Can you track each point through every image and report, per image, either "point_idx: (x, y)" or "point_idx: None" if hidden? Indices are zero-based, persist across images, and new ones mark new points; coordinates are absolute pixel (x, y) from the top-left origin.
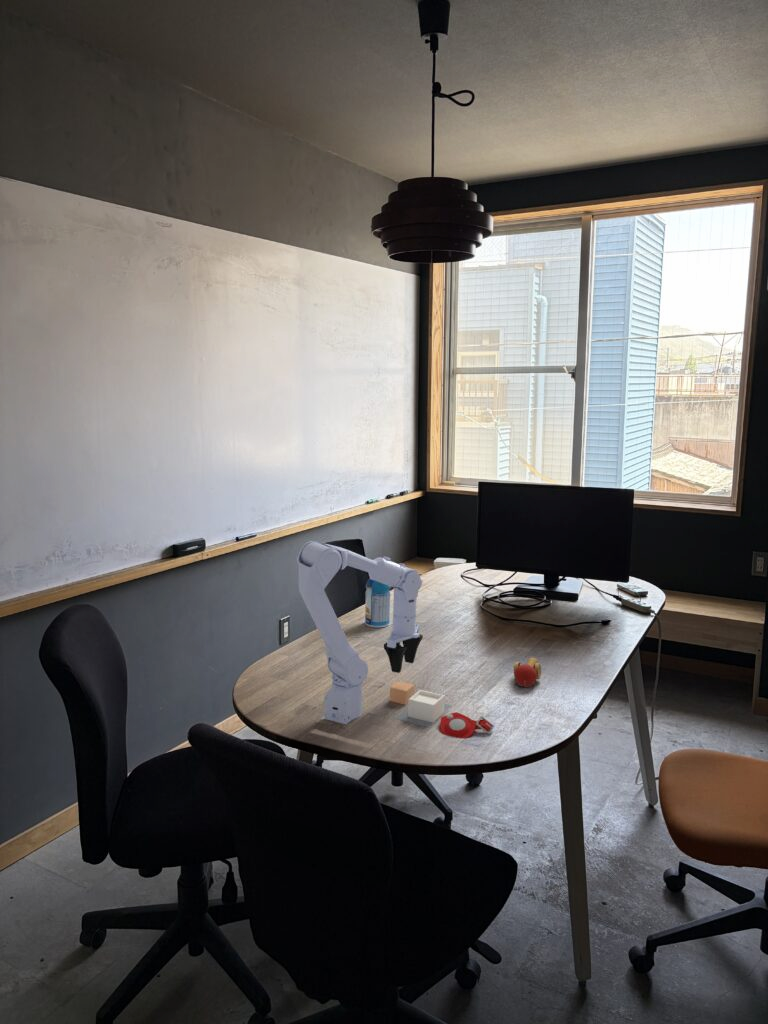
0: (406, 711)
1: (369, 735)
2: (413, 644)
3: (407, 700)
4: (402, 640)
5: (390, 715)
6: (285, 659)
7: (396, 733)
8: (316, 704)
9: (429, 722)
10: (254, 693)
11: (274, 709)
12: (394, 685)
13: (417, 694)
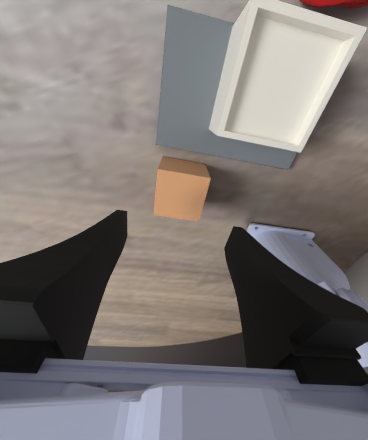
0: (245, 154)
1: (346, 195)
2: (86, 275)
3: (199, 167)
4: (365, 416)
5: (252, 184)
6: (110, 338)
7: (345, 146)
8: (229, 286)
9: None
10: (215, 331)
11: None
12: (184, 215)
13: (249, 135)
